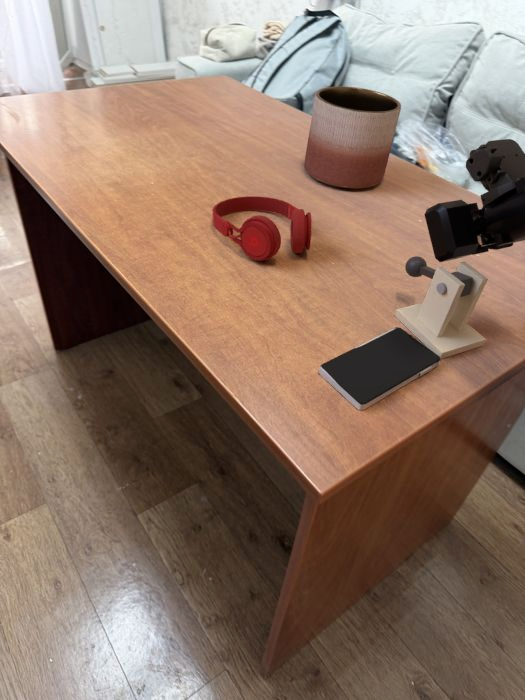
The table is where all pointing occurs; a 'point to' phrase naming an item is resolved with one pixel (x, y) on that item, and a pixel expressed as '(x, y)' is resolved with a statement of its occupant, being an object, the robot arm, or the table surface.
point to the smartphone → (378, 367)
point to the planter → (351, 136)
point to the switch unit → (446, 313)
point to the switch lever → (419, 267)
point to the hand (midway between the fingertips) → (445, 242)
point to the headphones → (263, 226)
